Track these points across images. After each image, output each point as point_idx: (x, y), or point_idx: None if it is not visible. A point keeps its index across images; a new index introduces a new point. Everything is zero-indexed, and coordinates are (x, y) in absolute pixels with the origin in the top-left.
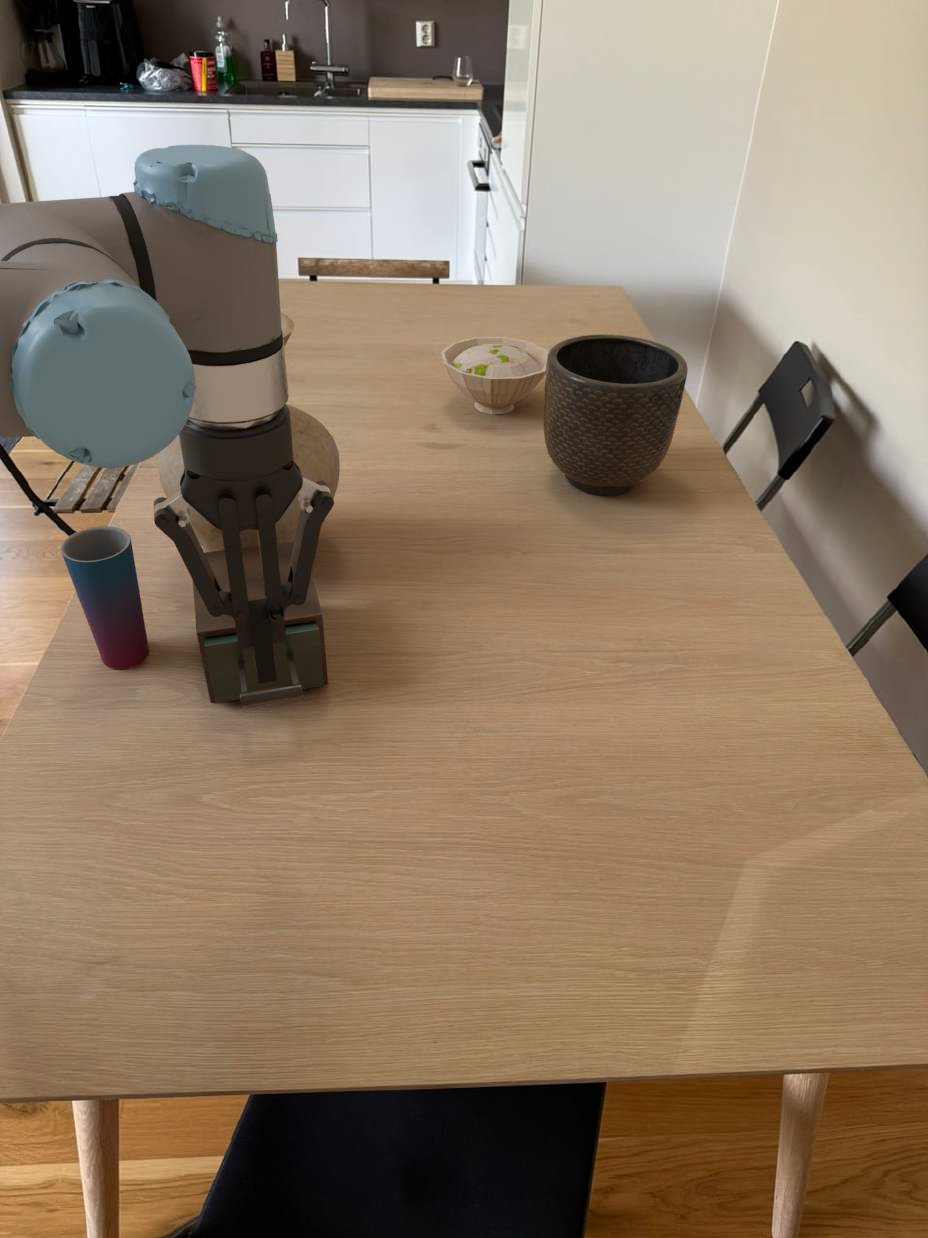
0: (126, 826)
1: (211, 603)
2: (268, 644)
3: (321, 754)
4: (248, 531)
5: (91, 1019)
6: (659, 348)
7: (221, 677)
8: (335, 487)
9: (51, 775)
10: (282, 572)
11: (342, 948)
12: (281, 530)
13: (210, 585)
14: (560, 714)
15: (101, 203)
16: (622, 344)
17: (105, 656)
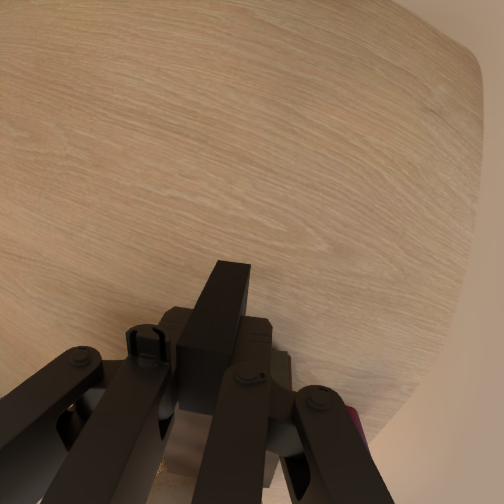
0: (395, 241)
1: (335, 423)
2: (206, 302)
3: (205, 259)
4: None
5: (440, 70)
6: None
7: (277, 370)
8: None
9: (428, 317)
10: (189, 452)
11: (245, 39)
12: (185, 484)
13: (334, 482)
14: (16, 228)
15: None
16: None
17: (358, 418)
